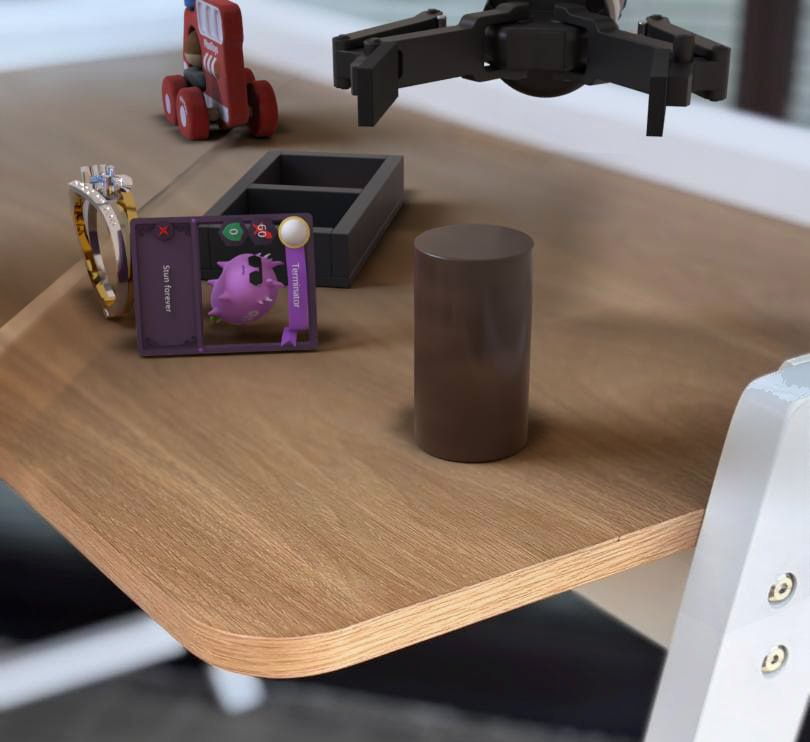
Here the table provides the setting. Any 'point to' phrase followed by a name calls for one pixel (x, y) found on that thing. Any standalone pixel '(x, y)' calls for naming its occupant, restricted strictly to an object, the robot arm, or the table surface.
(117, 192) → the ring
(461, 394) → the brown wooden cylinder
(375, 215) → the grid
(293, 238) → the game card
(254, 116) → the toy fire truck
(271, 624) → the table surface
